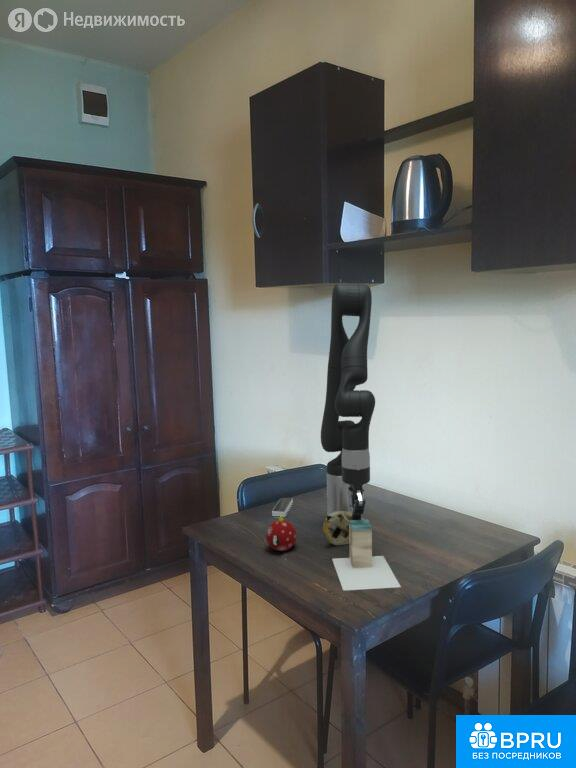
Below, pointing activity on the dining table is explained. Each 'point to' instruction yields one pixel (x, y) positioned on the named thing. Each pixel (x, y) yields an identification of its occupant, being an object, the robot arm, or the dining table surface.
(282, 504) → the multiport hub
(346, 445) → the robot arm
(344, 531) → the skull
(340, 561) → the mat
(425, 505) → the dining table surface
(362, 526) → the tall block
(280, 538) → the christmas ornament
